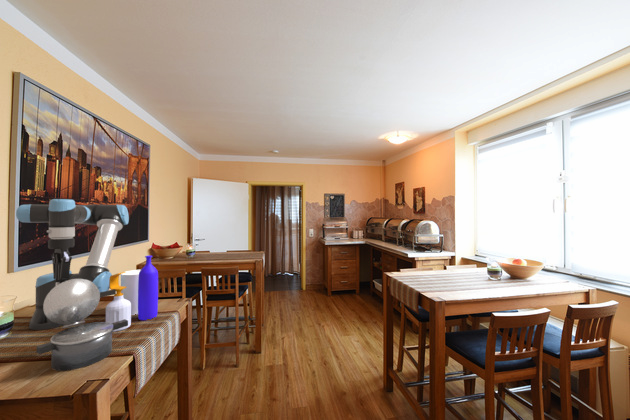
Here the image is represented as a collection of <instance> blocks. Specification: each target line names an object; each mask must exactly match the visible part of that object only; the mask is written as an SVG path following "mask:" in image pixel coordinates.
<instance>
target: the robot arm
mask: <svg viewBox="0 0 630 420" xmlns="http://www.w3.org/2000/svg"><path fill="white" fill-rule="evenodd" d="M15 213H16V215H15V216H16V219H17V220H18V221H19V222H21V223H33V224H34V223H37V224H38V223H48V230H46V233H48V238H49V239H48V241H47V248H48V249H50V250H54V252H53V253H52V254H51V256H50V257H51V261H52V271H53V272H51V273H46V274H43V275H42V274H41V275H40V276H38V277H37V278H36V281H35V308H34V309H35V310H34V312H33V315H32V317H31V318H30V321H29V327H28V329H29V330H32V331H42V330H43V331H44V330H49V329H53V328H55V329H56V328H58V327H63V326H64V325H67V324H58V323H55V322H52V321H51V320H49V319H48V318H47V317H46V315H45V313H44V310H43V304H44V300H45V298H46V296H47V295H48V293H49V292H50V291H51V290H52V289H53V288H54V287H55V286H57V285H58V284H60V283H62V282H64V281H67V280H71V279H85V280H89V281H91V282H93V283H94V284H95V285H96V286H97V287H98V289H99V292H104V291H108V290H110V287H109V279H110V276H112V275H113V274H112V273H111V271H110V269H109V268H108V265H109V262H110V260H111V255H112V251H113V249H114V245H115V243H116V238H117V235H118V232H119V231H121V230H122V229H123V227H124V226H126V225H128V224H129V220H130V217H129V215H130V214H129V211H128V208H127V206H126V205H125V204H117V203H116V204H96V203H95V204H94V203H93V204H85V205H81V204H76V201H75V200H74V199H68V198H67V199H65V198H53V199H50V200H49V203H48V204H31V203H29V204H21V205H19V206H18V207H17V209H16V212H15ZM76 224H77V225H78V224H83V225H89V226H97V228H98V229H97V231H96V234H95V237H94V241H93V244H92V246H91V248H90V252H89V254H88V257H87V260H86V262H85V265H83V266H82V267H80V268H79V271H78V273H73V272H72V270H71V262H72V259H73V257H72V255H71V253H70V251H69V249H73V248H74V247H75V241H76V240H75V238H74V237H75V236H76V229H75V228H76V226H75V225H76Z"/></svg>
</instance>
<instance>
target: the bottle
mask: <svg viewBox="0 0 630 420" xmlns="http://www.w3.org/2000/svg"><path fill="white" fill-rule="evenodd" d="M144 258H145V260H146V261H145V265H144V266H143V267H142V268H141V271H140V272H139V278H138V314H137V318H138V320H140V321H148V320H147V319H150V320H153V319H155V318H157V316H158V313H159V311H158V310H159V309H158V307H159V305H158V304H159V272H158V269H157V268H156V267H155V266H154V265H153V264H152V258H153V255H145V256H144ZM154 317H155V318H154ZM152 318H153V319H152Z"/></svg>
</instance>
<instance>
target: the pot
mask: <svg viewBox="0 0 630 420" xmlns="http://www.w3.org/2000/svg"><path fill="white" fill-rule="evenodd" d="M125 326H128V320H125V319H124V320H121V321H118V322H115V323H108V322H106V321H98V322H97V321H96V322H90V323H89V322H88V323H82V324H78V325H75V326H71V327H68V328H64V329H63V330H60V331H58V332H57V333H55V334H54V335H52V337H50V342H46V343H43V344H40V345H36V354H38V355H42V354H45V353H49V352H51V361H50V363H51V365H50V366H51V367H50V368H51V369H52V370H54V371H58V372H59V371H60V372H62V371H63V372H67V371H73V370H78V369H82V368H86V367H89V366H91V365H93V364H97V363H99V362H101V361H102V360H104V359H106V358H107V357H108V356H110V355H111V353H112V351H113V332H112V331H113V330H116V329H119V328H122V327H125ZM109 354H110V355H109Z"/></svg>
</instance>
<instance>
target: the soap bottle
mask: <svg viewBox="0 0 630 420" xmlns="http://www.w3.org/2000/svg"><path fill="white" fill-rule="evenodd" d="M123 273H126V271H123V272H119V273H115V274H112V276H110V279H109V287H110V288H109V290H113V289H116V294H114V295H113V300H112V301H110V302H109V303H108V304H107V305H106V306H105V322H108V323H115V322H118V321H121V320H124V319H125V320H128V326H125V327H122V328H119V329H116V330H113V331H112V333H113V332H120V331H123V330H126V329H127V328H129V327H131V324H132V315H131V303H130V301H128V300H126V299H124V298H123V293H121V291H122V290H123V289H124V288H126V287H124V286H121V285H120V284H119V283H120V281H119V278H120V276H121V274H123Z"/></svg>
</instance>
